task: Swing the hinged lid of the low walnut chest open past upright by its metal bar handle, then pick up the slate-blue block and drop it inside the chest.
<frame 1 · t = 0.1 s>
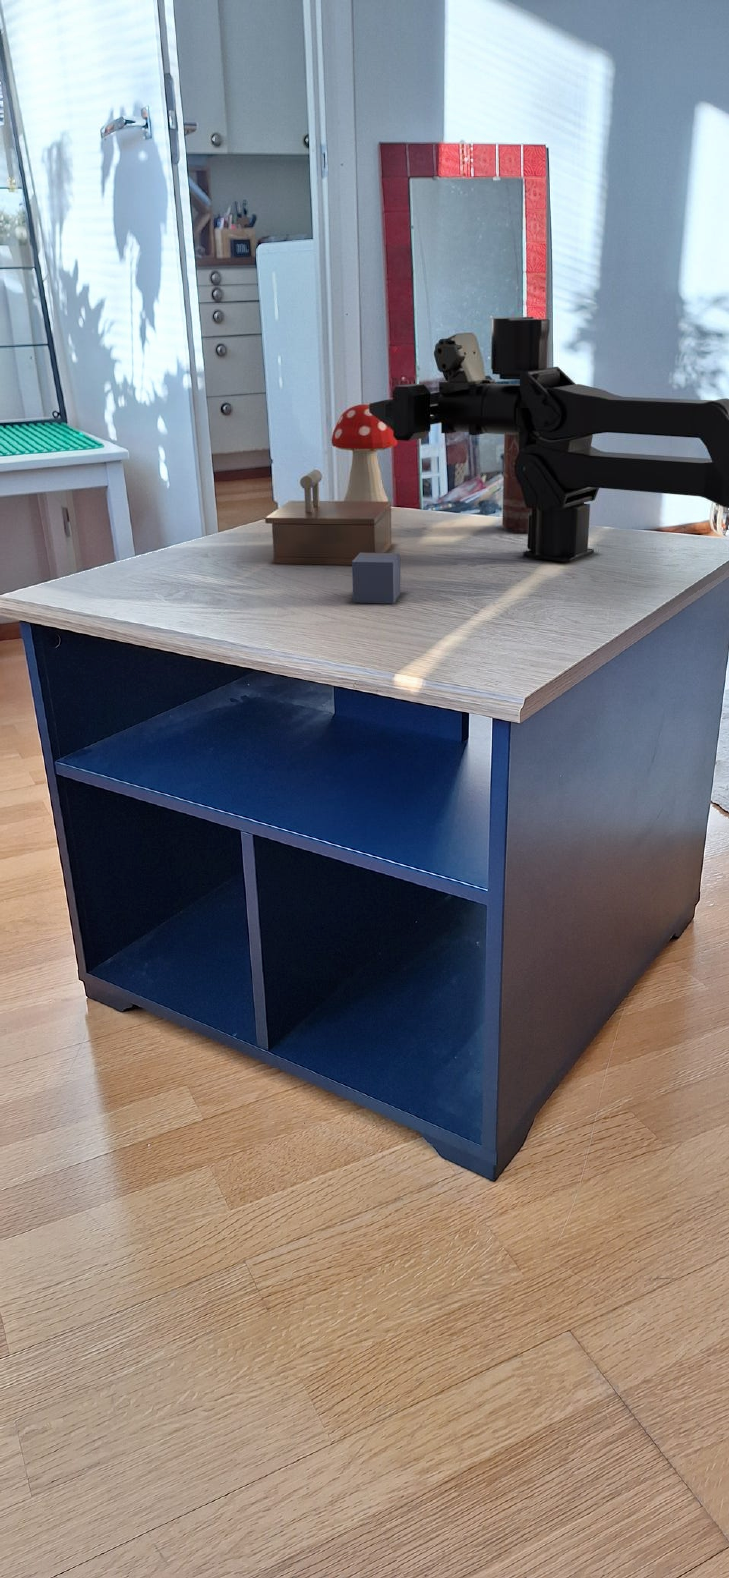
hand: (391, 404, 144), 17 cm above the table, tool horizontal, fingers open, 9 cm apart
lid: (329, 494, 137), point 7 cm above the table, hinge at 0.0°
decorative mushroom: (366, 510, 168), on the table
can: (525, 530, 151), on the table
block: (377, 598, 120), on the table
chest: (334, 554, 140), on the table
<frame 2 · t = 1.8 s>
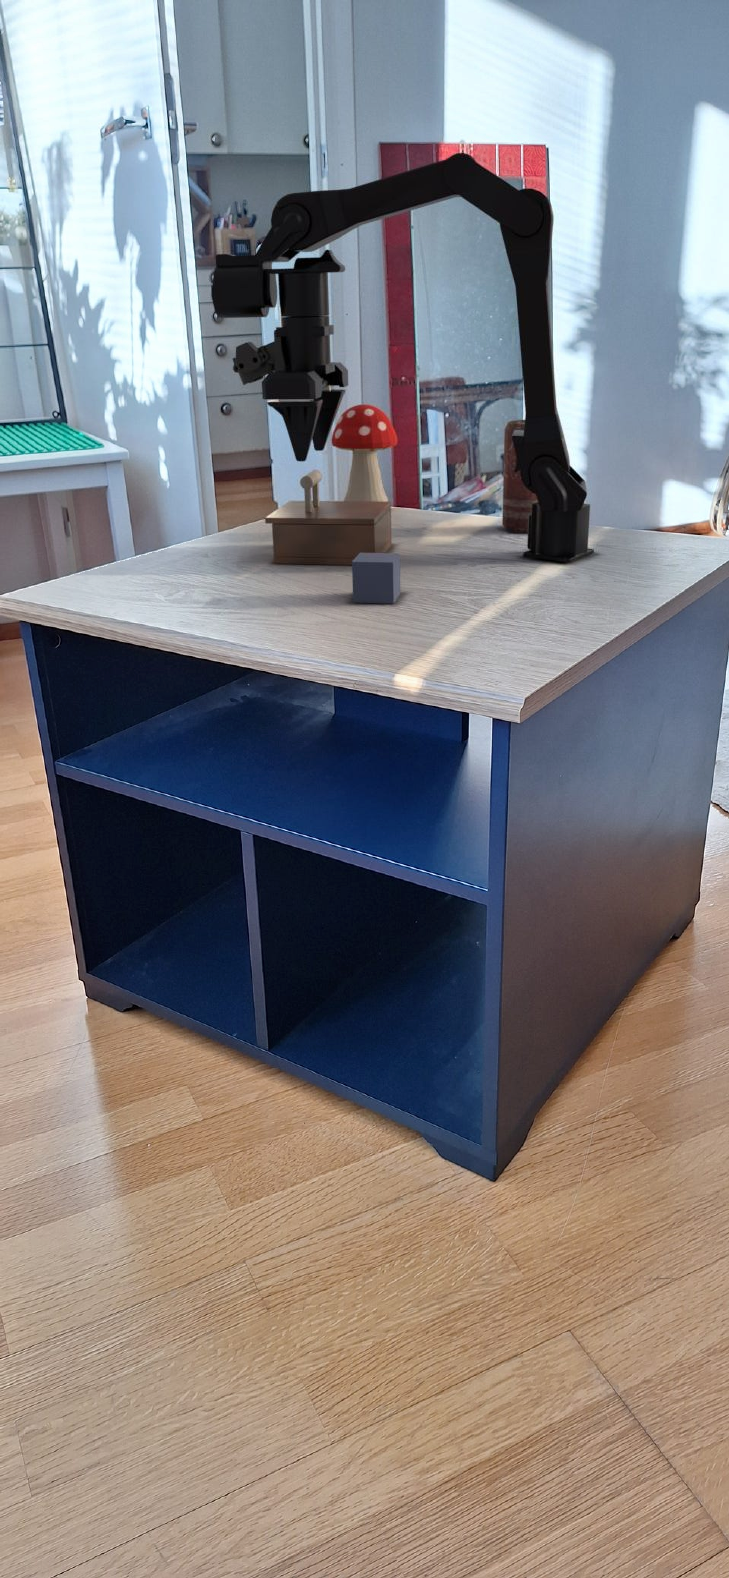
hand: (310, 455, 136), 12 cm above the table, tool pointing down, fingers open, 9 cm apart
nothing on the table moved.
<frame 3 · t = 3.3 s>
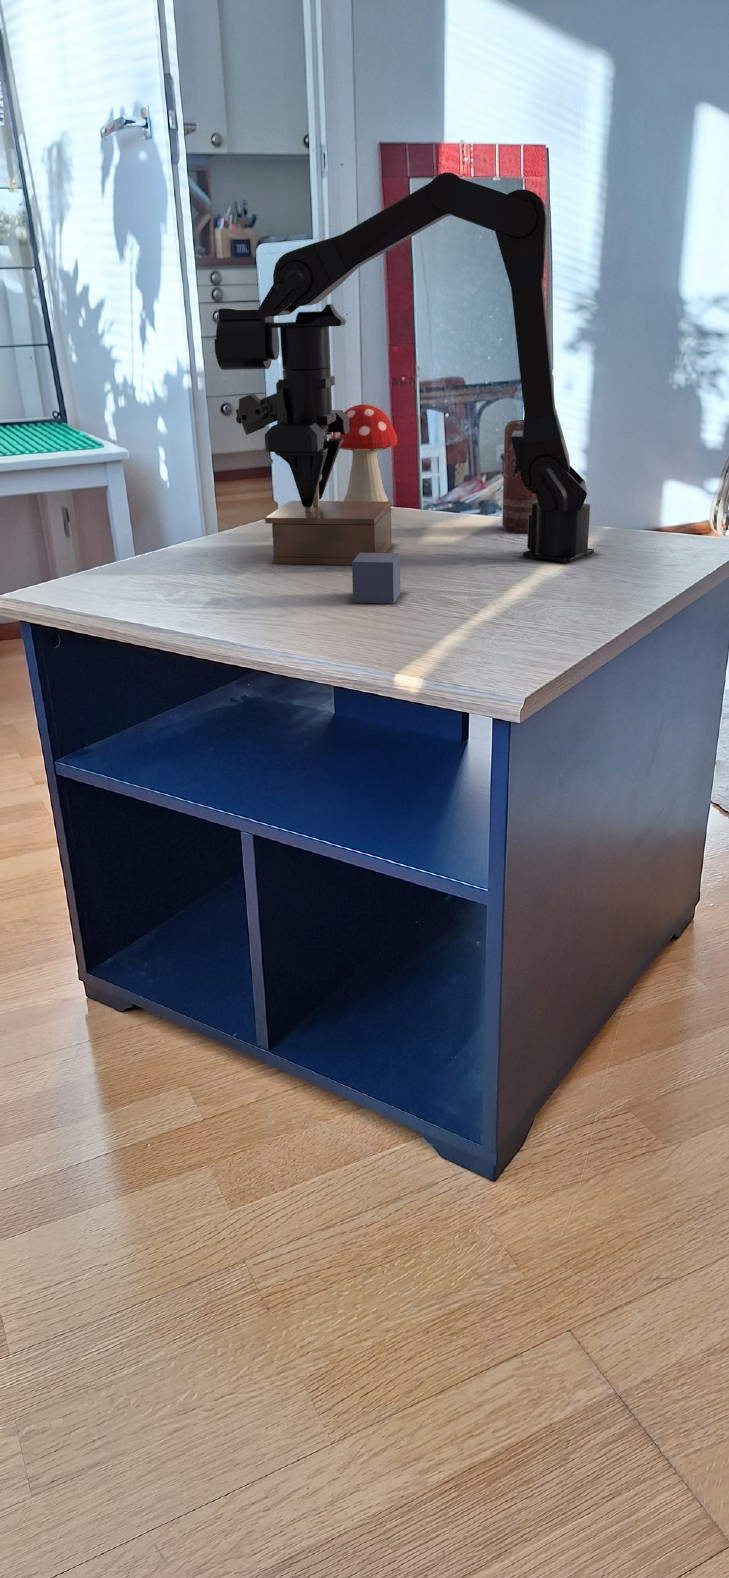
hand: (312, 502, 138), 6 cm above the table, tool pointing down, fingers closed on lid, 5 cm apart
lid: (329, 494, 137), point 7 cm above the table, hinge at 0.0°, touching gripper
everything else where it was.
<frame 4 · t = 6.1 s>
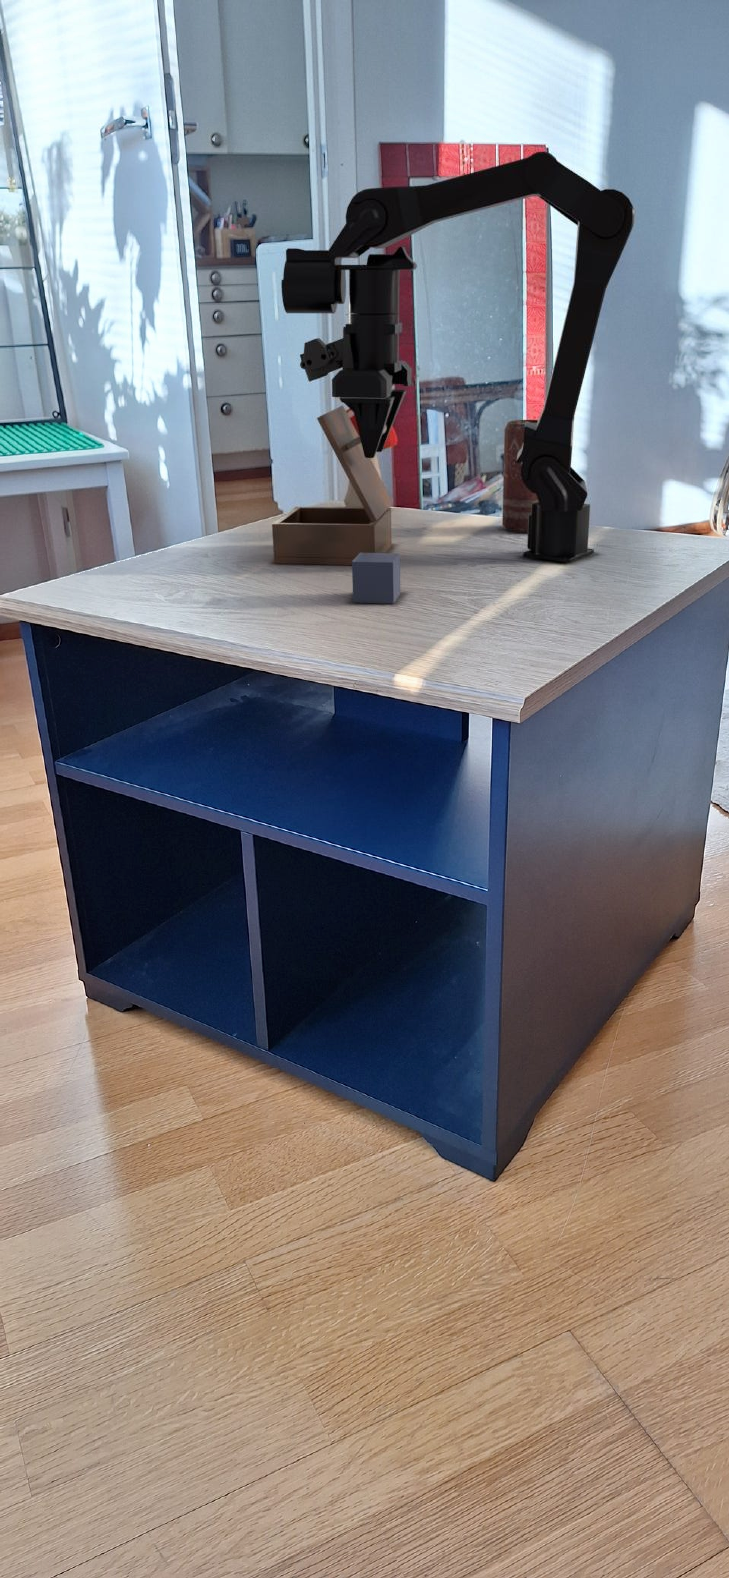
hand: (373, 454, 134), 12 cm above the table, tool pointing down, fingers closed on lid, 5 cm apart
lid: (372, 454, 134), point 12 cm above the table, hinge at 62.6°, touching gripper
everything else where it was.
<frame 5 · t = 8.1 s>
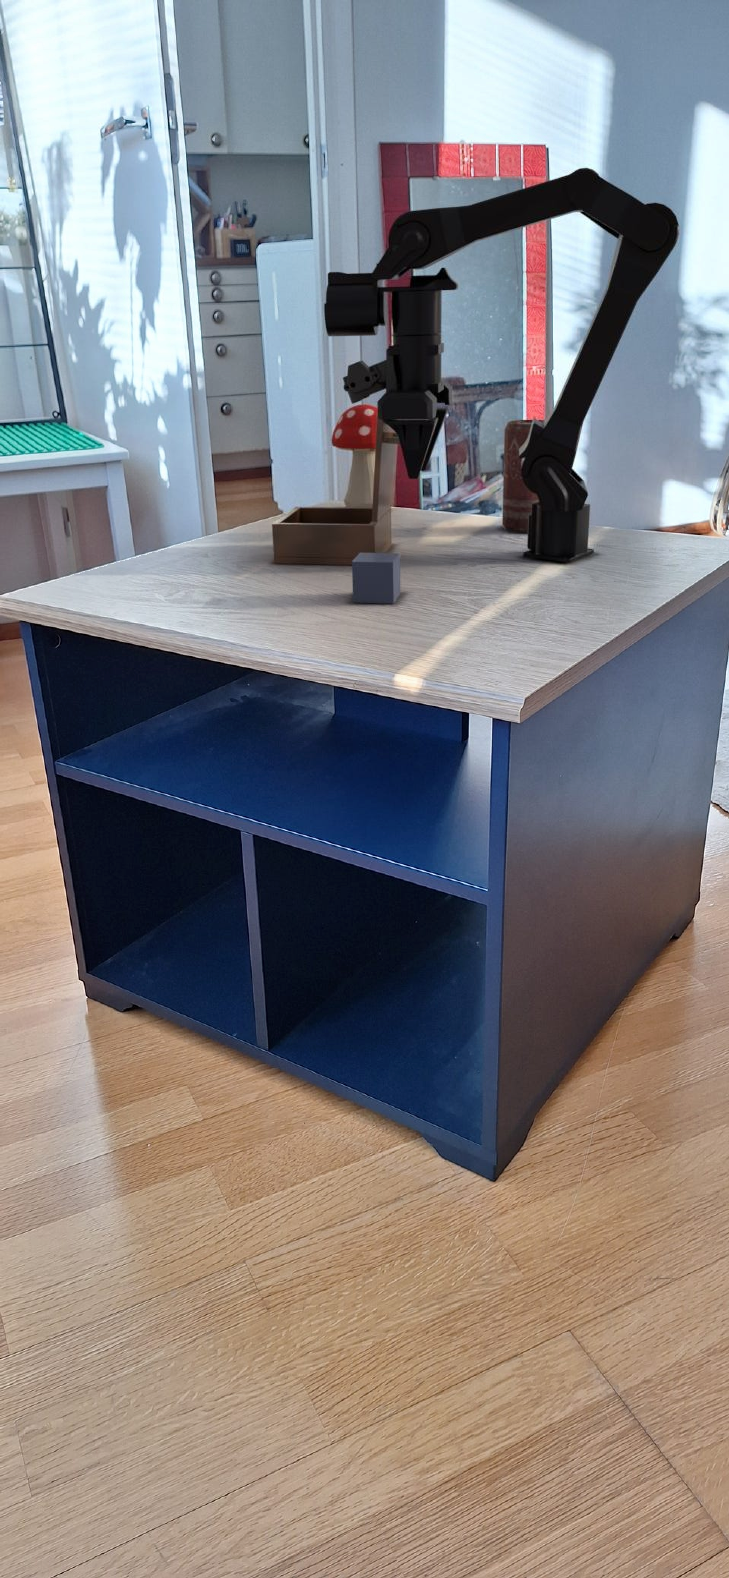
hand: (417, 474, 134), 10 cm above the table, tool pointing down, fingers open, 6 cm apart
lid: (404, 458, 134), point 12 cm above the table, hinge at 94.6°
everything else where it was.
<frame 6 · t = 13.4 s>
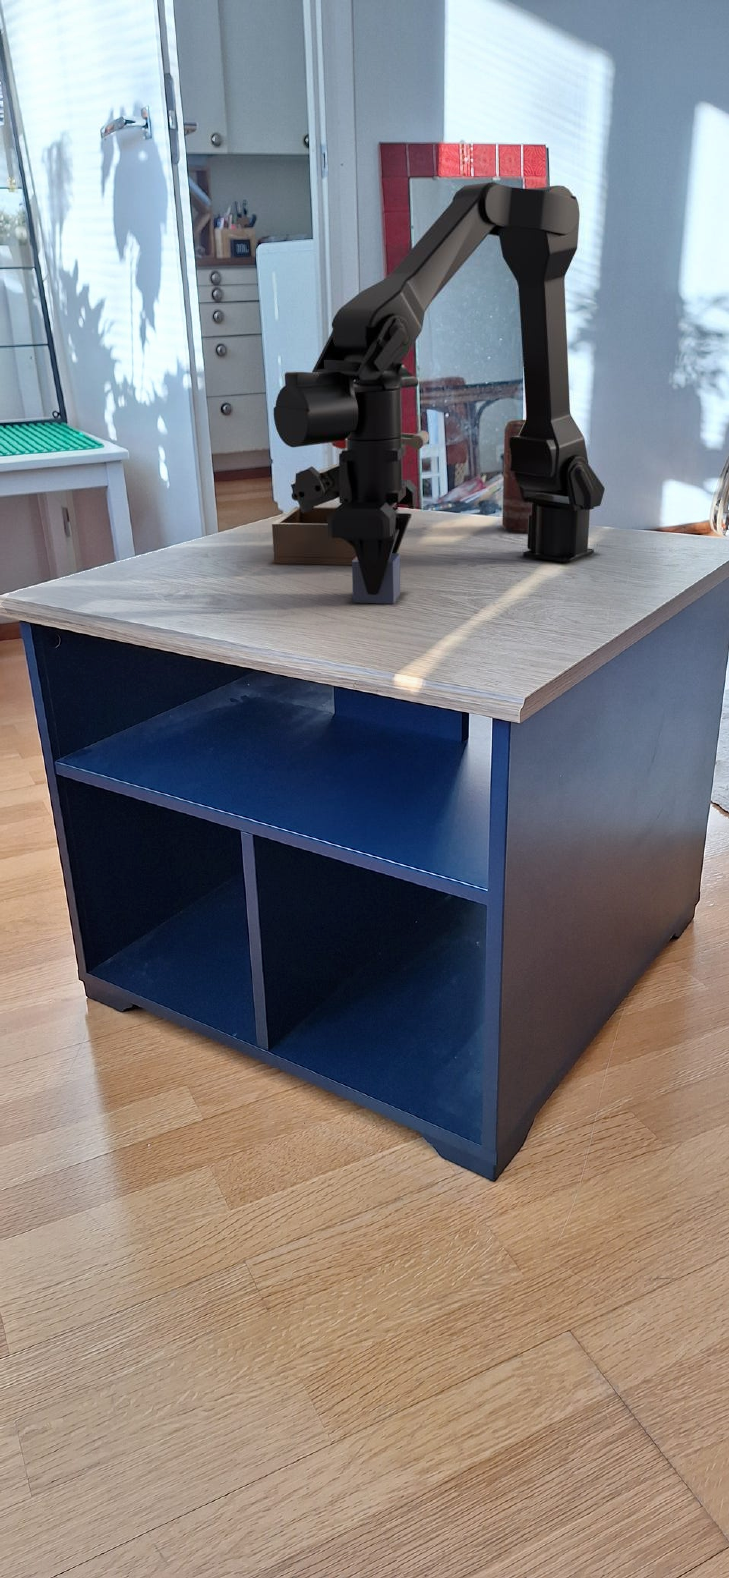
hand: (377, 588, 119), 1 cm above the table, tool pointing down, fingers closed on block, 4 cm apart
lid: (404, 458, 134), point 12 cm above the table, hinge at 94.2°
block: (377, 598, 120), on the table, touching gripper
everything else where it was.
when the fingers open (4 cm above the table, at t = 20.6 s): block drops 2 cm, resting on chest.
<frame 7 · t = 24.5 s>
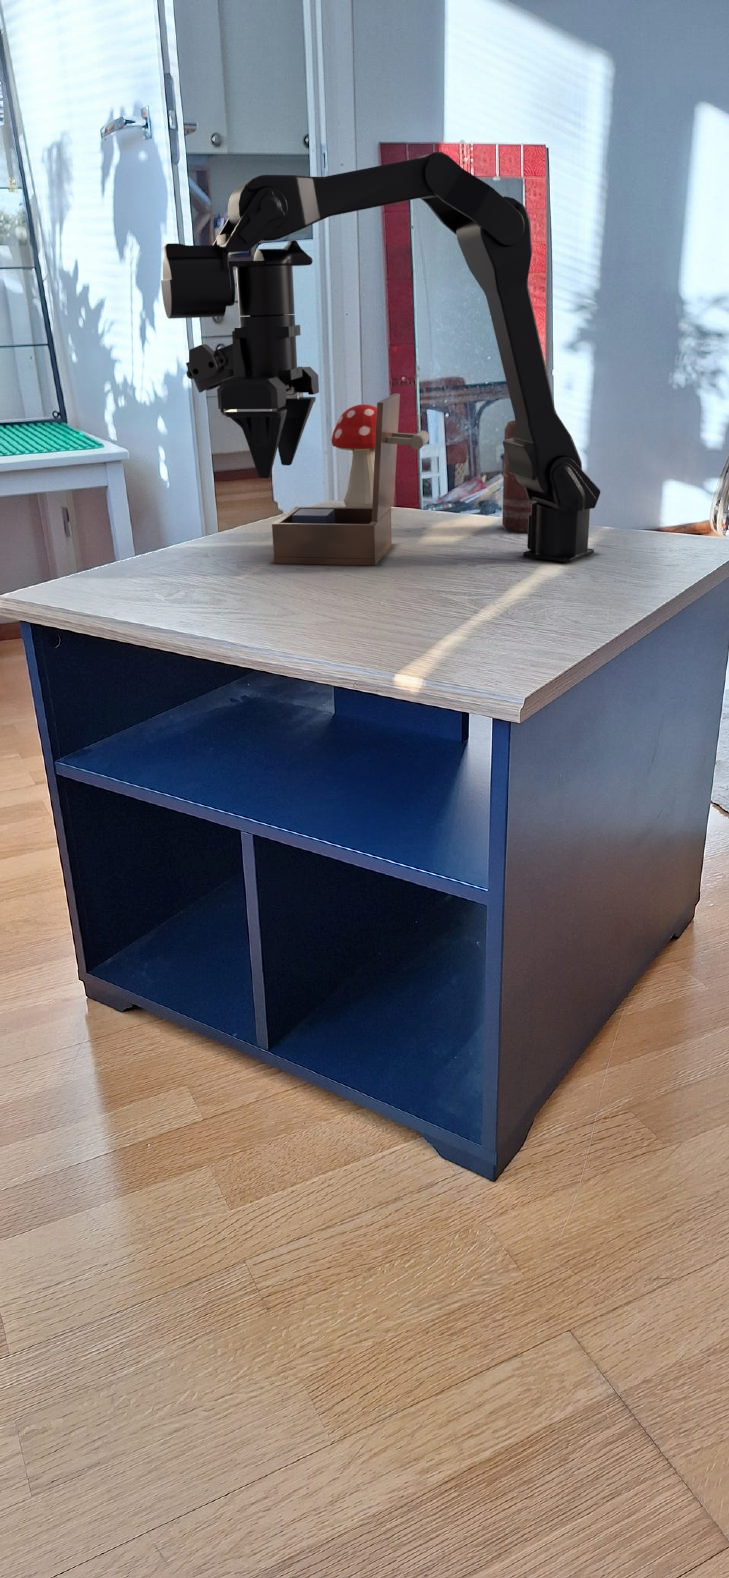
hand: (275, 471, 121), 13 cm above the table, tool pointing down, fingers open, 9 cm apart
block: (315, 547, 140), point 1 cm above the table, touching chest
everything else where it was.
at the end: lid at +94° (first picture: +0°); block inside the target area in the chest (2.5 cm from its centre), point 0.8 cm above the chest's base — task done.
